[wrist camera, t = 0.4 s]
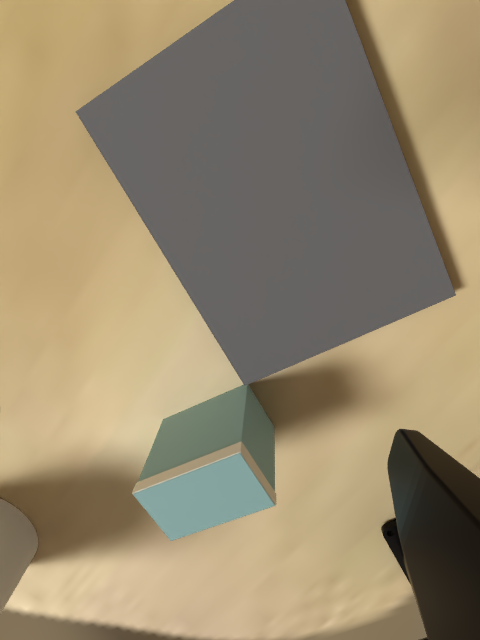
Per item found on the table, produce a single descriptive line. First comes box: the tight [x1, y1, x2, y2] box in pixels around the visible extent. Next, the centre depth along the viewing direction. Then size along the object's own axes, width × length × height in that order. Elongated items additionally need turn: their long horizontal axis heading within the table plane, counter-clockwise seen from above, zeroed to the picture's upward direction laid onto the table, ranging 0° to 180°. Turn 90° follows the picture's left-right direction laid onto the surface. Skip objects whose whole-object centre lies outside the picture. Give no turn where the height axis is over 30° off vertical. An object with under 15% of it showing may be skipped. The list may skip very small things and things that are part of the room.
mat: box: [76, 0, 456, 386], centre depth 20 cm, size 16×12×1 cm
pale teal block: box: [132, 385, 276, 541], centre depth 22 cm, size 4×6×6 cm, turn 119°
